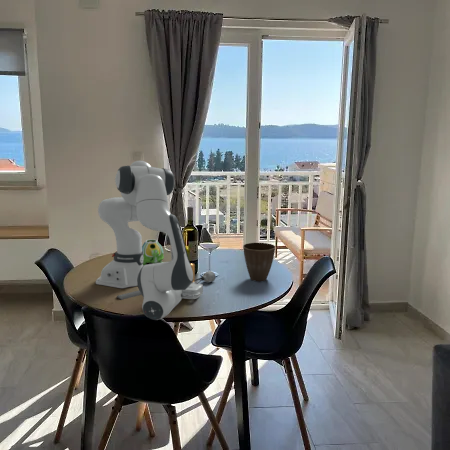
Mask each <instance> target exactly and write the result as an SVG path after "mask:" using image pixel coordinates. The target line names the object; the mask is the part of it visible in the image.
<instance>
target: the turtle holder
mask: <svg viewBox="0 0 450 450" xmlns="http://www.w3.org/2000/svg"><path fill="white" fill-rule="evenodd" d="M163 248H164V247H162V245H161V244H160V243H159V241H158V239H146V240H145V241H144V243H142V251H143V266H144V265H147V263H149V264H154V263H162V262H163V260H164V258H165V256H164V254H165V253H164V249H163Z"/></svg>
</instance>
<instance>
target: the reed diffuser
mask: <svg viewBox="0 0 450 450" xmlns="http://www.w3.org/2000/svg"><path fill="white" fill-rule="evenodd" d="M215 280H216V274H215V272H213V271H212V270H209V271H206V272H204V274H202V276H201V277H200V278H196V279H195V282H196V281H198V282H197V283H196V284H200V282H201V281H202V282H203V281H204V282H205V283H212V282H215Z"/></svg>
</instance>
